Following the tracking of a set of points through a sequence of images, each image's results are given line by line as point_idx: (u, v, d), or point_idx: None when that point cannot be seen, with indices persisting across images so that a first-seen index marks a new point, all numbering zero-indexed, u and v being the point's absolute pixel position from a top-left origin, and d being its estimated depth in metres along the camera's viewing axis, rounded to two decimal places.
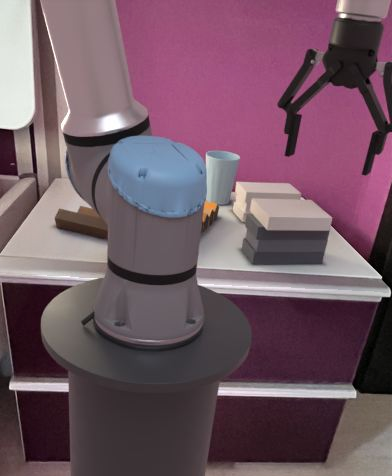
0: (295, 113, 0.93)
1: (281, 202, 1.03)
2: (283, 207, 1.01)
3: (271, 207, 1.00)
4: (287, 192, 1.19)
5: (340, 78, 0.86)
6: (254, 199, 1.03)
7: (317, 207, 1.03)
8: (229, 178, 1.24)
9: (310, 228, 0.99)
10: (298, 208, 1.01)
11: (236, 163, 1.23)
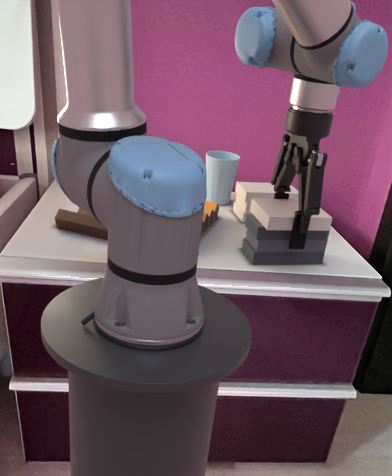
0: (282, 191, 1.05)
1: (281, 202, 1.03)
2: (283, 207, 1.01)
3: (271, 207, 1.00)
4: (287, 192, 1.19)
5: (294, 157, 0.97)
6: (254, 199, 1.03)
7: None
8: (229, 178, 1.24)
9: (310, 228, 0.99)
10: (298, 208, 1.01)
11: (236, 163, 1.23)
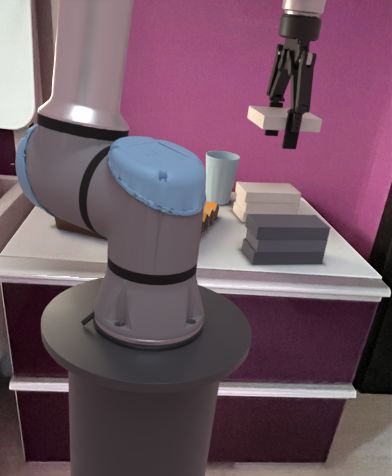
0: (276, 100, 1.14)
1: (276, 109, 1.13)
2: (278, 111, 1.11)
3: (267, 111, 1.10)
4: (287, 192, 1.19)
5: (286, 62, 1.06)
6: (251, 106, 1.13)
7: (309, 113, 1.12)
8: (229, 178, 1.24)
9: (302, 129, 1.09)
10: None
11: (236, 163, 1.23)
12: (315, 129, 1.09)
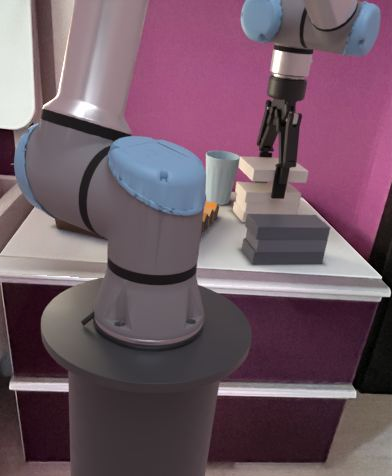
0: (266, 150, 1.22)
1: (265, 159, 1.20)
2: (267, 162, 1.18)
3: (256, 162, 1.17)
4: (287, 192, 1.19)
5: (275, 119, 1.13)
6: (242, 157, 1.20)
7: (296, 164, 1.19)
8: (229, 178, 1.24)
9: (289, 180, 1.16)
10: None
11: (236, 163, 1.23)
12: (302, 180, 1.16)
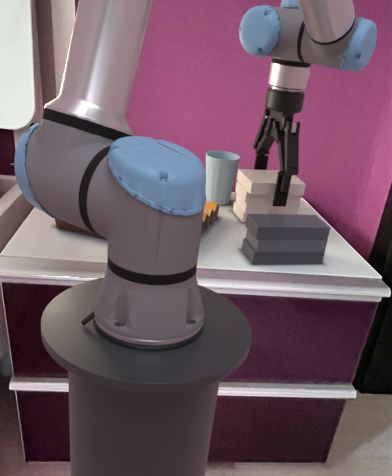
0: (262, 154, 1.24)
1: (263, 172, 1.21)
2: (265, 175, 1.19)
3: (254, 175, 1.19)
4: None
5: (273, 130, 1.15)
6: (240, 169, 1.21)
7: (294, 176, 1.21)
8: (229, 178, 1.24)
9: None
10: None
11: (236, 163, 1.23)
12: (299, 192, 1.18)
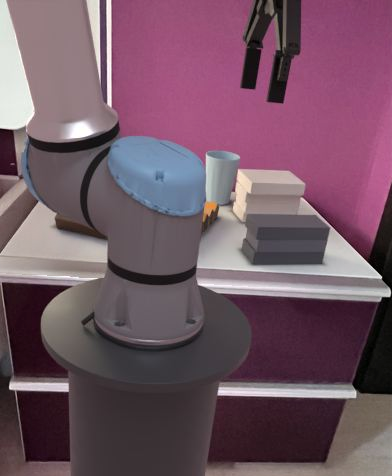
0: (253, 46, 0.99)
1: (263, 172, 1.21)
2: (265, 175, 1.19)
3: (254, 175, 1.19)
4: None
5: (267, 5, 0.90)
6: (240, 169, 1.21)
7: (294, 176, 1.21)
8: (229, 178, 1.24)
9: (287, 193, 1.17)
10: (277, 177, 1.19)
11: (236, 163, 1.23)
12: (299, 192, 1.18)
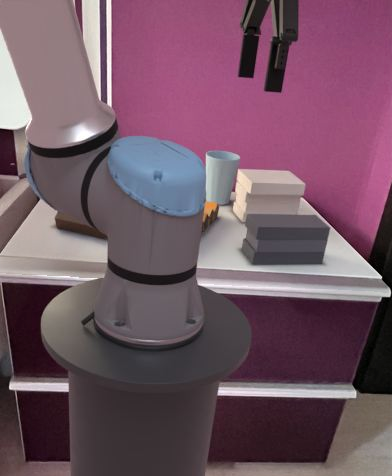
0: (250, 33, 0.95)
1: (263, 172, 1.21)
2: (265, 175, 1.19)
3: (254, 175, 1.19)
4: None
5: None
6: (240, 169, 1.21)
7: (294, 176, 1.21)
8: (229, 178, 1.24)
9: (287, 193, 1.17)
10: (277, 177, 1.19)
11: (236, 163, 1.23)
12: (299, 192, 1.18)
